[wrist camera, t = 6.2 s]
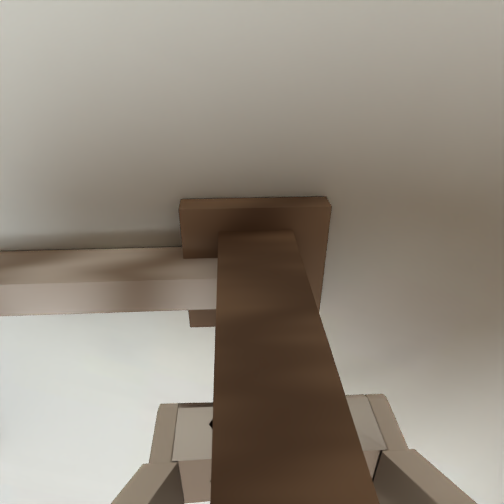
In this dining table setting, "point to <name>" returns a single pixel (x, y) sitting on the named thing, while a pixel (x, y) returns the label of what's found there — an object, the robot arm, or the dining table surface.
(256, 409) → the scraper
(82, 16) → the dining table surface
